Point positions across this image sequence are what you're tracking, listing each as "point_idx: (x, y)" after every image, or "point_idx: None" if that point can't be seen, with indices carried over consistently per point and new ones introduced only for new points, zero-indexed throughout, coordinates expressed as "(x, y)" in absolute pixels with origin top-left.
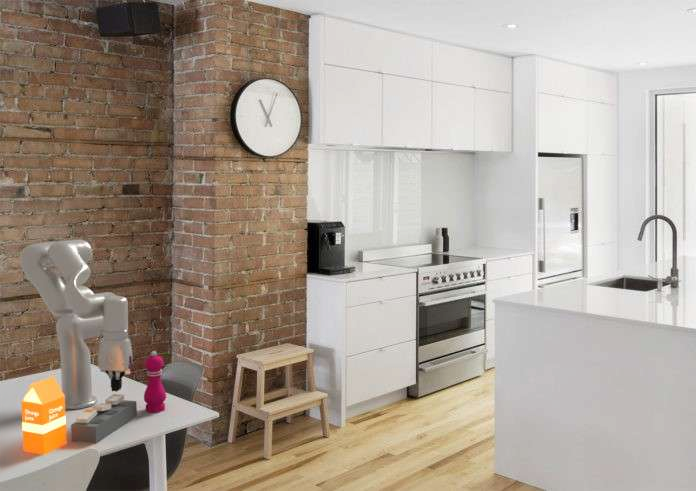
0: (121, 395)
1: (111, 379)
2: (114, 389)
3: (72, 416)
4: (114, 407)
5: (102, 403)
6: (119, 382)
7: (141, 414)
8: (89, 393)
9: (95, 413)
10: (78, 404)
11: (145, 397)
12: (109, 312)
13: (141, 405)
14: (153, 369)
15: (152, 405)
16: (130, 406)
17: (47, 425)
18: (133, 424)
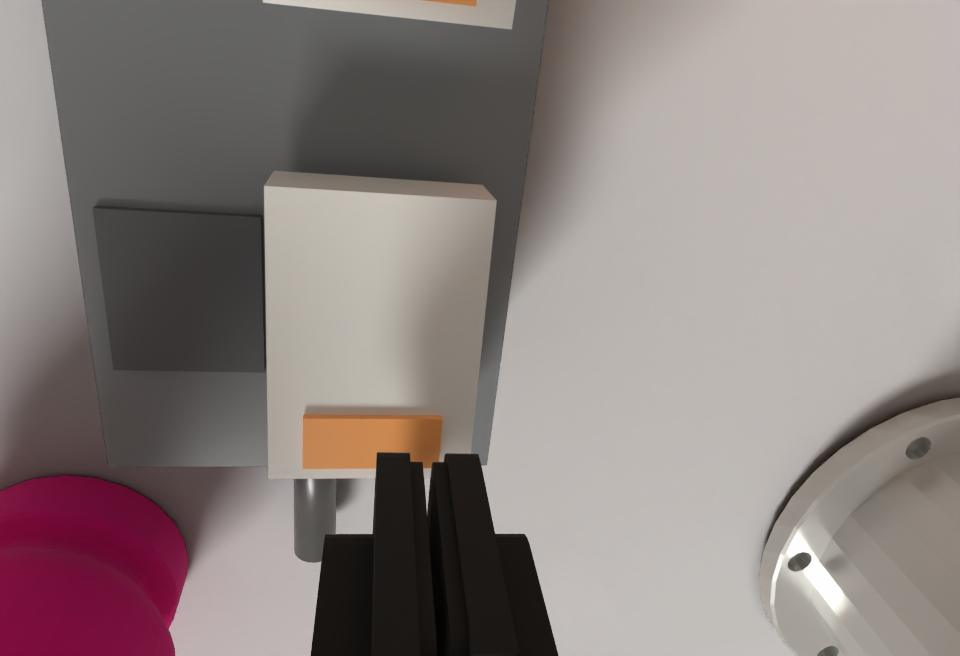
0: (294, 440)
1: (515, 651)
2: (417, 477)
3: (887, 228)
4: (284, 123)
5: (469, 3)
6: (313, 641)
7: None
8: (869, 622)
9: None
10: (904, 471)
11: (75, 611)
12: None
13: (306, 617)
14: None
15: (24, 545)
16: (95, 287)
17: None
18: (5, 58)
